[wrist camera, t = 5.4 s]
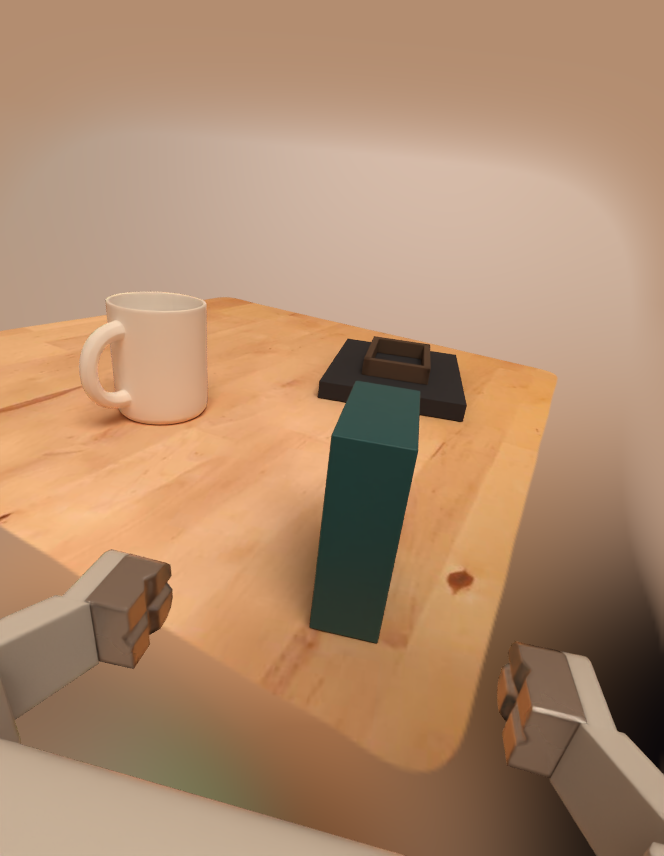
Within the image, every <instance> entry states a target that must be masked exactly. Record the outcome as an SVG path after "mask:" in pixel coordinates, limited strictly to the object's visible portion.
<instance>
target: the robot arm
mask: <svg viewBox="0 0 664 856" xmlns="http://www.w3.org/2000/svg"><path fill="white" fill-rule="evenodd" d="M170 577H171V566H170V565H169V564H168V563H165V562H161V561H157V560H153V559H149V558H145V557H141V556H137V555H133V554H128V553H124V552H120V551H116V550H112V549H111V550H109V551H107V552H105V553H104V554H103V555H102V556H101V557H100V558H99V559H98V560H97V561H96V562H95V563H94V564H93V565H92V566H91V567H90V568H89V569H88V570H87V571H86V572H85V573H84V574H83V575H82V576H81V577H80V578H79V579H78V580H77V581H76V582H75V583H74V584H73V585H72V586H71V588H70V589H69V590H68V591H67V592H66V593H65V594H64V595H63V596H58V595H56V596H53V597H51V598H48V599H46V600H44V601H41V602H39V603H37V604H34V605H32V606H30V607H27V608H25V609H23V610H20V611H18V612H16V613H13V614H11V615H9V616H7V617H4V618H2V619H0V856H406V855H402V854H398V853H395V852H392V851H388V850H385V849H381V848H378V847H375V846H371V845H368V844H364V843H361V842H357V841H354V840H351V839H347V838H343V837H340V836H337V835H333V834H330V833H326V832H323V831H320V830H316V829H313V828H309V827H306V826H302V825H299V824H296V823H292V822H288V821H285V820H282V819H278V818H274V817H271V816H268V815H264V814H261V813H257V812H254V811H250V810H247V809H244V808H240V807H237V806H233V805H230V804H226V803H223V802H219V801H216V800H212V799H208V798H205V797H202V796H198V795H195V794H192V793H188V792H185V791H181V790H178V789H175V788H171V787H167V786H164V785H161V784H157V783H154V782H150V781H147V780H143V779H140V778H137V777H133V776H130V775H126V774H122V773H119V772H116V771H112V770H109V769H105V768H102V767H98V766H95V765H92V764H88V763H85V762H81V761H78V760H75V759H71V758H68V757H64V756H61V755H57V754H54V753H50V752H47V751H43V750H40V749H37V748H33V747H30V746H26V745H23V744H21V740H20V736H19V733H18V730H17V726H16V723H15V719H17V718H18V717H20V716H21V715H23V714H24V713H26V712H27V711H29V710H30V709H32V708H33V707H35V706H36V705H38V704H39V703H41V702H42V701H44V700H45V699H47V698H48V697H50V696H51V695H52V694H54V693H56V692H57V691H59V690H60V689H61V688H63V687H64V686H66V685H67V684H69V683H70V682H72V681H73V680H75V679H76V678H77V677H79V676H81V675H82V674H84V673H85V672H87V671H88V670H90V669H91V668H92V667H94V666H95V665H97V664H98V663H99V661H101V662H105V663H110V664H114V665H118V666H123V667H127V668H132V669H134V668H135V666H136V665H137V663H138V662H139V660H140V659H141V657H142V656H143V654H144V653H145V651H146V650H147V648H148V647H149V645H150V641H149V635H150V634H152V633H154V632H155V631H157V630H159V629H160V628H161V627H162V625H163V623H164V622H165V620H166V618H167V616H168V613H169V611H170V608H171V604H172V598H173V596H172V588H171V587H170V586H169V584H168V583H167V581H168V580H169V578H170ZM508 655H509V661H510V663H508V664H506V665H504V666H503V667H502V669H501V672H500V676H499V680H498V687H497V700H498V708H499V713H500V714H501V715H502V717H503V718H504V720H505V721H506V725H505V727H504V730H503V732H502V736H503V742H504V748H505V755H506V761H507V766H510V767H513V768H517V769H520V770H524V771H527V772H530V773H534V774H538V775H541V776H545V777H548V778H550V782H551V784H552V785H553V787H554V788H555V790H556V792H557V793H558V795H559V797H560V798H561V800H562V801H563V803H564V805H565V806H566V808H567V809H568V811H569V812H570V814H571V816H572V817H573V819H574V820H575V822H576V824H577V825H578V827H579V828H580V830H581V832H582V833H583V835H584V836H585V838H586V840H587V841H588V843H589V844H590V846H591V848H592V849H593V851H594V853H595V854H596V856H664V775H663V774H662V773H661V772H660V770H659V769H658V768H657V767H656V766H655V765H654V764H653V763H652V762H651V761H650V760H649V759H648V758H647V757H646V756H645V754H644V753H643V752H642V751H641V750H640V749H639V748H638V747H637V746H636V745H635V744H634V743H633V742H632V741H631V740H630V738H628V736H627V735H626V734H624V733H621V732H617V729H616V727H615V724H614V722H613V719H612V716H611V714H610V712H609V709H608V706H607V703H606V701H605V698H604V696H603V693H602V690H601V688H600V685H599V683H598V680H597V677H596V674H595V672H594V669H593V667H592V664H591V662H590V660H589V659H588V658H587V657H585V656H580V655H575V654H571V653H566V652H560V651H557V650H553V649H548V648H543V647H539V646H534V645H530V644H525V643H520V642H516V641H515V642H514V643H513V644H512V645H511V647H510V649H509V652H508Z"/></svg>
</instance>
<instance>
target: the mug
mask: <svg viewBox="0 0 664 856" xmlns="http://www.w3.org/2000/svg"><path fill="white" fill-rule="evenodd" d="M105 302H106V312H107V321H108V323H106V324H104V325H102V326H101V327H99V328H98V329H96V330H95V331H94V332H93V333H92V334H91V335H90V336H89V337H88V339H87V340H86V342H85V344H84V346H83V348H82V351H81V355H80V360H79V373H80V379H81V384H82V386H83V389H84V391H85V392H86V394H87V396H88V397H89V398H90V399H91V400H92V401H93V402H95V403H96V404H97V405H99V406H102V407H105V408H119V410H120V412H121V413H122V414H123V415H124V416H126V417H127V418H129V419H131V420H133V421H136V422H140V423H145V424H157V425H162V424H174V423H180V422H184V421H188V420H190V419H193V418H195V417H197V416H198V415H199V414H201V413H202V412H203V411H204V410H205V408H206V406H207V399H208V376H207V311H206V302H205V301H203V300H202V299H199V298H196V297H192V296H188V295H183V294H176V293H167V292H128V293H121V294H115V295H112V296H109V297H107V298H106V300H105ZM109 344H110V348H111V357H112V367H113V376H114V385H115V392H112V393H109V392H107V391H105V390H104V389H103V388H102V386H101V384H100V381H99V378H98V363H99V359H100V356H101V353H102V352H103V350H104V349H105V347H106V346H107V345H109Z"/></svg>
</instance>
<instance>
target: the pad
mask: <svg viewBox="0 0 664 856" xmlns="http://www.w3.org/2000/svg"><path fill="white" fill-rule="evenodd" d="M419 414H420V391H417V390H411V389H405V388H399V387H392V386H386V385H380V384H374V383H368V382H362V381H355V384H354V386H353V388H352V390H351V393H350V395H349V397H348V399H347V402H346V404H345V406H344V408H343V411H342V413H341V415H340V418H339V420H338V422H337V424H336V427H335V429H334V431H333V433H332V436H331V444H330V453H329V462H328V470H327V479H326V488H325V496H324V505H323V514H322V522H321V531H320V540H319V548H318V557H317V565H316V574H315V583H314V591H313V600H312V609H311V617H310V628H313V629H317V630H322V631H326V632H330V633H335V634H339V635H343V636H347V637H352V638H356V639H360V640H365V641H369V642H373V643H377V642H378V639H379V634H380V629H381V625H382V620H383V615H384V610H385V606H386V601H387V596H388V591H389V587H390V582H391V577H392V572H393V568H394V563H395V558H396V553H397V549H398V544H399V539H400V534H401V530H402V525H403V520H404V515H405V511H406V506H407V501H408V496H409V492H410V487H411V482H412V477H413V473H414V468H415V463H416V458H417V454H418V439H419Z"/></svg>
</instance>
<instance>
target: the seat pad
mask: <svg viewBox="0 0 664 856" xmlns="http://www.w3.org/2000/svg"><path fill="white" fill-rule="evenodd" d="M355 381H362V382H368V383H374V384H380V385H386V386H392V387H399V388H405V389H411V390H417V391H420V414H419V415H425V416H431V417H437V418H443V419H449V420H455V421H460V422H462V421H463V418H464V414H465V410H466V406H467V405H466V400H465V396H464V391H463V386H462V381H461V377H460V372H459V367H458V363H457V358H456V355H452V354H446V353H439V352H433V351H430V345H429V344H422V343H415V342H409V341H402V340H395V339H388V338H382V337H375V336H374V338H373V340H372V342H366V341H360V340H353V339H347V341H346V342H345V344H344V345H343V347H342V348H341V350H340V351H339V353H338V354H337V356H336V357H335V359H334V360H333V362H332V363H331V365H330V366H329V368H328V369H327V371H326V372H325V374H324V375H323V377H322V378H321V380H320V381H319V391H318V398H324V399H330V400H336V401H342V402H347V399H348V397H349V395H350V393H351V390H352V388H353V386H354V384H355Z"/></svg>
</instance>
